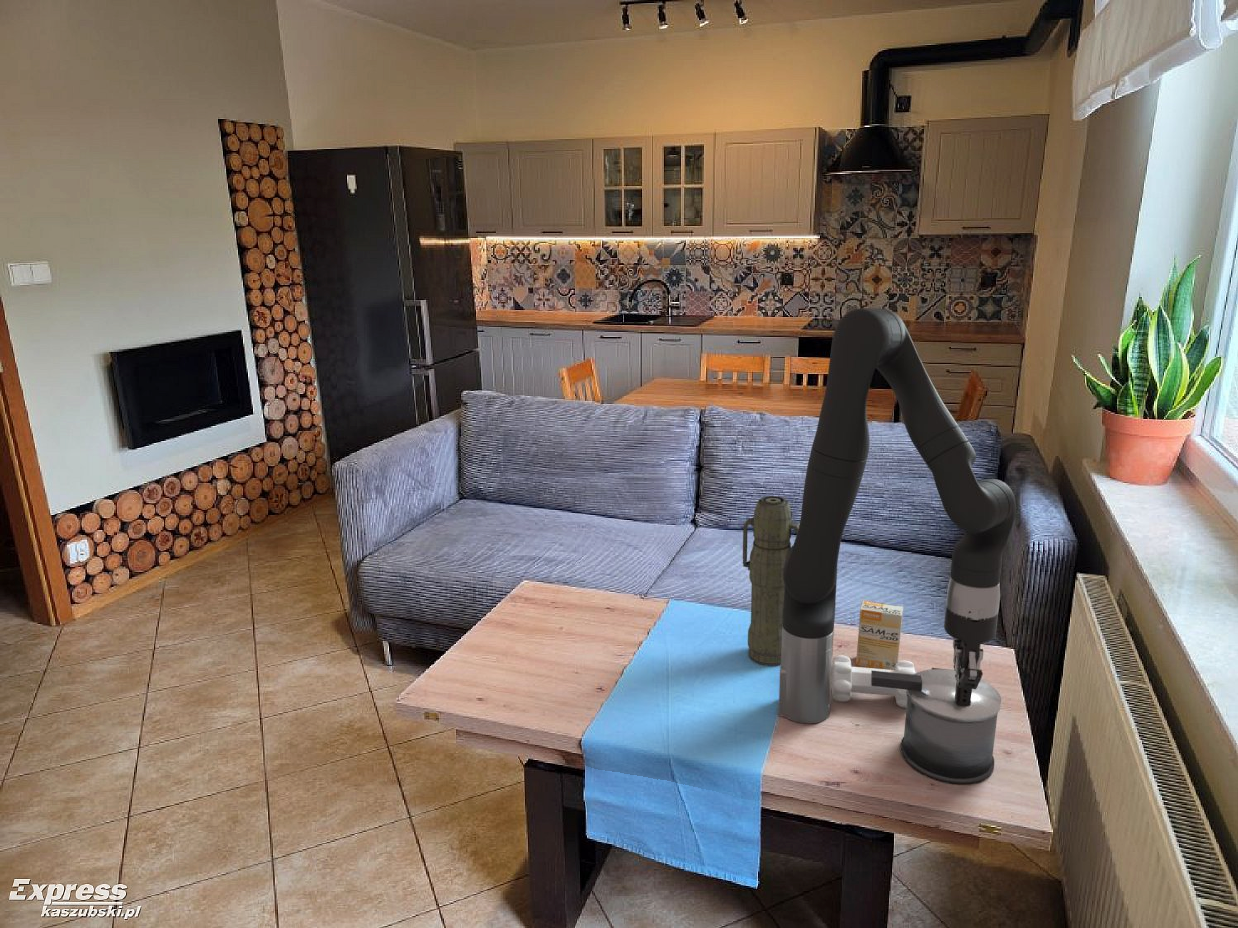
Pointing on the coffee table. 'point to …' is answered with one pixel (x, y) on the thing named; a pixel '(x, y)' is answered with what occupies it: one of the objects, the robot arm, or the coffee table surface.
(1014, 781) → the coffee table surface
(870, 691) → the white bone
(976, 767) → the cooker pot
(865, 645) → the supplement box
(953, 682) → the cooker lid
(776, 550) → the thermos
